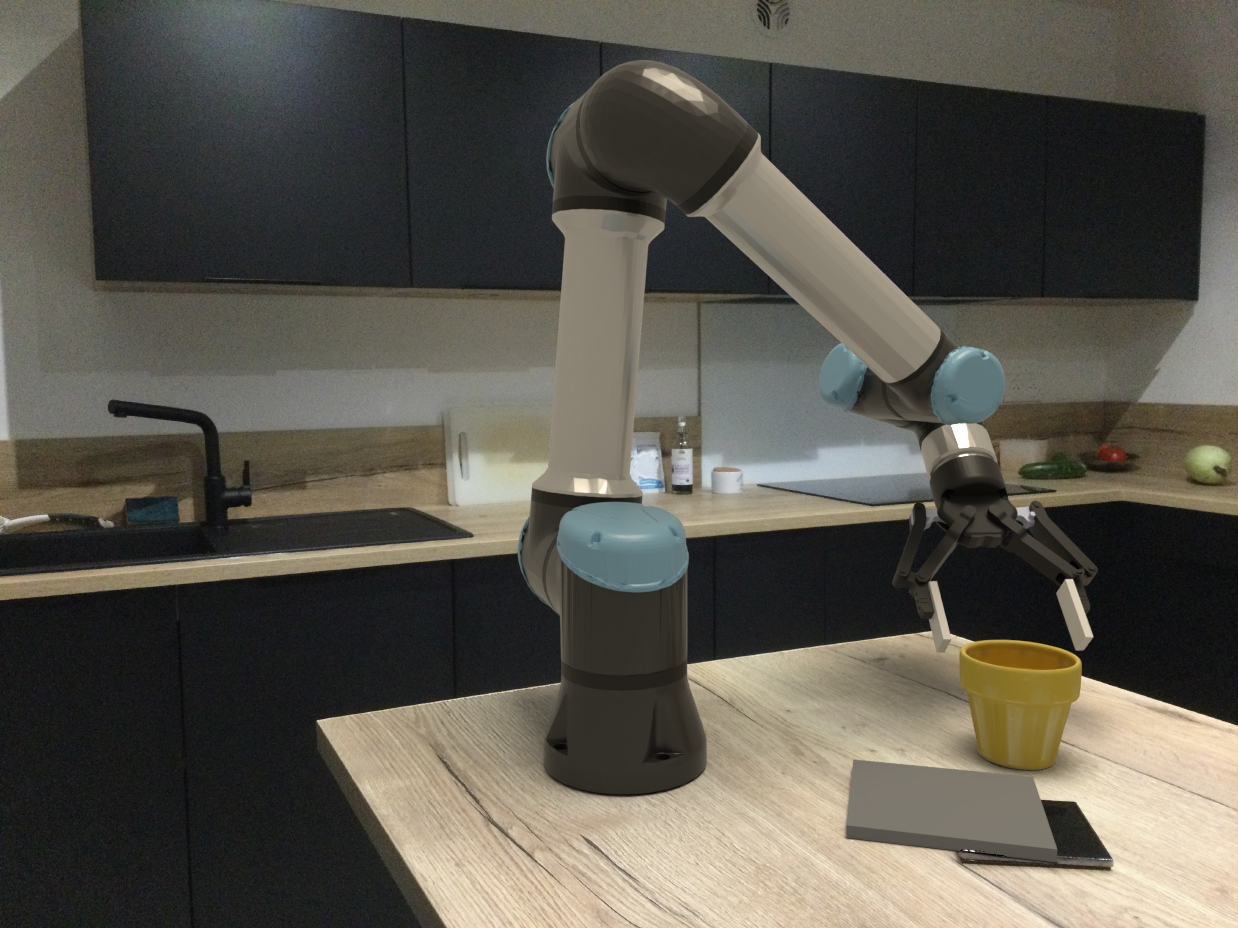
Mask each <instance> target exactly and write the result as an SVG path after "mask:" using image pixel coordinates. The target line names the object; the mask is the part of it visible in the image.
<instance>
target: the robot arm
mask: <svg viewBox="0 0 1238 928" xmlns="http://www.w3.org/2000/svg"><path fill="white" fill-rule="evenodd" d="M761 140H762V139H761V134H760V133H759V132H758V131H756V129H755V128H754V127H753V126H751V124H749V123H748V121H747V120H745V118H744V117H742V116H741V115H740V114H739V113H738V112H737V111H736V110H735V109H734V108H733V107H732V106H731V105H730V104H728V102H726V101H725V100H724V99H723V98H721V97H720V95H718V94H717V93H716V92H714V91H713V90H712V89H711V88H709V87H708V86H707V85H705V84H704V83H702V82H701V81H700V80H698V79H696V78H695V77H694V76H692V75H690V74H689V73H687V72H686V71H683V70H682V69H679V67H676V66H673V65H670V64H667V63H664V62H661V61H655V60H649V59H647V60H645V59H641V60H640V59H639V60H633V61H626V62H624V63H621V64H618V65H616V66H614V67H612V68H611V69H609V70H608V71H606V72H604V73H603V74H602V75H601V76H600V77H599V78H598V79H597V80H596V81H595V82H594V83H593V85H591V86H590V87H589V88H588V90H586V92H584V94H582V95H581V96H580V97H579V98H577V100H575V101H574V102H572V103H571V104H570V105H569V106H568V107H567V108H566V109H565V110H564V111H563V113H561V115H560V117H559V118H558V119H557V122H556V124H555V126H554V127H553V129H552V132H551V134H550V137H549V140H548V143H547V147H546V159H545V161H546V163H545V164H546V171H547V175H548V178H549V182H550V184H551V186H552V188H553V196H552V210H551V211H552V212H551V221H552V223H554V224H555V226H556V227H557V228H558V230H560V232H561V233H562V234H563V237H564V248H563V249H564V250H563V263H562V277H561V286H560V288H561V290H560V291H561V292H560V300H559V301H560V302H559V303H560V304H559V316H558V329H557V330H558V331H557V343H556V344H557V345H556V354H555V355H556V358H555V370H554V383H553V384H554V385H553V395H552V396H553V397H552V408H551V423H550V424H551V425H550V435H549V436H550V437H549V438H550V439H549V448H548V449H549V451H548V464H547V468H546V469H545V471H544V473H542V474H541V475H540V476H539V477H538V478H537V479H535V480H534V481H533V482H532V483H531V484H532V485H531V493H530V495H531V497H530V507H529V516H528V517H527V519H526V520H525V522H524V523H523V525H522V527H521V531H520V533H519V537H518V541H517V558H518V563H519V567H520V568H519V569H520V571H521V574H522V575H523V578H524V580H525V582H526V584H527V586H528V588H529V589H530V591H531V592H532V593H533V594H534V595H535V596H536V597H538V599H539V600H540V601H541V602H542V603H543V604H545V605H547V606H548V607H549V608H551V609H552V610H553V611H554V612H555V613H556V614H557V615H558V616H559V622H560V623H559V625H560V659H561V660H560V662H561V663H560V665H561V666H560V667H561V674H560V675H561V678H560V679H561V680H560V685H559V688H558V691H557V695H556V698H555V701H554V705H553V708H552V711H551V715H550V718H549V721H548V724H547V728H546V731H545V734H544V739H543V764H544V769H545V770H546V771H547V773H548V774H549V775H550V776H551V777H552V778H554V779H555V780H557V781H559V782H560V783H562V784H564V785H567V786H569V787H571V788H576V789H578V790H582V791H586V792H592V793H598V794H600V793H601V794H607V795H608V794H609V795H638V794H639V795H641V794H649V793H650V794H651V793H655V792H662V791H664V790H669V789H672V788H676V787H679V786H682V785H685V784H687V783H688V782H691V781H693V780H694V779H695V778H697V777H698V776H699V775H700V774H701V773H702V772H703V771H704V770H705V769H706V766H707V762H708V761H707V760H708V759H707V758H708V751H707V750H708V748H707V747H708V746H707V745H708V744H707V743H708V741H707V734H706V731H705V728H704V725H703V723H702V720H701V715H700V714H699V710H698V707H697V705H696V701H695V698H694V696H693V693H692V689H691V687H690V683H689V679H688V568H689V567H688V566H689V561H690V556H689V555H690V554H689V551H688V546H687V538H686V537H687V535H686V530H685V526H684V524H683V523H682V521H681V520H680V519H679V518H678V517H677V515H675V514H673V513H671V512H670V511H668V510H666V509H664V508H661V507H658V506H653V505H643V496H644V495H643V494H644V493H643V492H644V491H643V490H642V489H641V488H640V487H639V485H637V483H636V482H635V480H633V478H632V475H631V462H632V451H633V450H632V449H633V439H634V438H633V437H634V428H635V427H634V426H635V425H634V424H635V416H636V415H635V414H636V413H635V411H636V404H637V403H636V402H637V401H636V399H637V388H638V376H639V375H638V374H639V362H640V352H641V339H642V327H643V317H644V315H643V314H644V313H643V312H644V303H645V302H644V301H645V289H646V278H647V277H646V276H647V264H648V254H649V253H648V251H649V245H650V243H651V242H652V241H653V240H654V239H655V238H656V237H657V236H658V235H660V233H662V232H663V231H664V230H665V227H666V226H665V223H666V214H667V213H666V212H667V201H669V202H671V204H673V205H675V206H676V207H677V208H678V209H679V210H680V211H681V212H682V213H684V215H686V217H689V218H692V217H693V218H697V217H703V218H705V219H706V220H707V221H708V222H710V223H711V224H712V225H713V226H714V227H715V228H716V229H717V230H718V231H719V232H721V234H722V235H724V236H725V237H726V238H727V239H728V240H729V241H731V243H732V244H734V245H735V247H736V248H738V249H739V250H740V251H741V252H742V254H743V253H744V255H745V256H747V257H748V258H749V260H751V261H752V262H753V263H754V264H755V265H756V266H758V268H759V269H761V270H762V271H763V272H764V273H765V274H767V276H769V277H770V278H771V279H772V280H773V281H774V282H775V283H776V285H778V286H779V287H780V288H781V289H782V290H784V291H785V293H787V294H788V295H789V296H790V297H791V298H792V299H793V300H794V301H795V302H797V303H798V304H799V305H800V306H801V307H802V308H803V309H804V310H806V312H807V313H809V314H810V316H811V317H813V318H814V319H815V320H816V321H817V322H819V323H820V325H822V326H823V327H824V328H825V329H826V330H827V331H828V332H829V333H830V334H832V336H833V337H835V338H836V339H837V340H838V341H839V342H840V343H838V344H837V345H836V346H834V347H833V348H832V350H830V352H829V353H828V355H827V356H826V358H825V359H824V361H823V363H822V365H821V366H822V367H821V370H820V372H819V373H820V374H819V377H818V389H819V390H818V391H819V394H820V397H821V400H823V401H824V402H825V403H826V404H828V405H830V406H833V407H835V408H838V409H841V410H842V411H843V412H844V413H848V412H849V413H852V414H855V415H859V416H863V417H865V418H869V419H873V420H876V421H879V422H883V423H885V424H889V425H893V426H895V427H896V428H900V429H904V430H908V431H909V432H913V433H914V434H915V435H916V440H917V442H918V446H919V449H920V452H921V456H922V460H923V464H924V469H925V471H926V475H927V478H928V480H929V487H930V490H931V494H932V499H933V502H934V505H935V506H934V507H935V508H928V507H927V508H926V505H925V504H924V503H923V502H918V501H917V502H915V503H914V504H913V507H912V510H911V511H910V512H911V513H910V515H909V518H908V523H909V535H908V537H907V540H906V543H905V546H904V548H903V551H902V553H901V557H900V559H899V562H898V565H897V568H896V571H895V574H894V576H893V579H892V581H891V584H892V586H893V587H894V588H895V589H898V590H899V589H902V588H904V589H907V590H909V591H908V593H909V595H910V596H911V597H912V598H914V601H915V606H916V609H917V614H918V616H919V618H920V619H921V620H928V621H929V626H930V629H931V634H932V639H933V643H934V646H935V651H936V653H939V654H940V653H945V652H946V651H947V648H948V646H949V645H950V643H951V641H952V636H951V631H950V629H949V628H950V627H949V625H948V620H947V616H946V613H945V608H944V604H943V601H942V597H941V591H940V587H939V585H938V580H936V581H935V580H933V581H932V579H933V578H934V576H935V574H937V572H938V571H939V570H940V569H941V567H942V565H943V564H944V563H945V562H946V560H947V559H948V557H949V556H950V554H952V553H953V552H954V550H955V549H956V547H957V546H958V545H959V544H960V545H962V546H965V547H966V548H967V549H976V548H979V547H983V548H987V549H988V548H989V549H990V548H991V549H993V548H995V549H996V548H997V547H998V546H999V547H1000V548H1002V549H1003V550H1005V552H1007V553H1010V554H1011V553H1013V554H1015V555H1016V556H1018V557H1019V558H1021V559H1022V561H1024V562H1026V563H1027V564H1028V565H1030V566H1031V567H1033V568H1034V569H1035V570H1037V571H1038V572H1039V573H1041V574H1042V575H1043V576H1045V577H1046V578H1048V579H1049V580H1050V581H1052V583H1054V584H1056V585H1057V586H1058V587H1059V588H1058V590H1057V592H1056V597H1057V600H1058V602H1059V606H1060V609H1061V611H1062V614H1063V618H1064V620H1065V623H1066V627H1067V629H1068V632H1069V635H1070V638H1071V641H1072V643H1073V647H1074V650H1075V651H1084V650H1085V649H1086V648H1087V647H1088V645H1089V643H1091V642H1092V640H1093V638H1094V635H1093V631H1092V628H1091V625H1090V623H1089V620H1088V617H1087V614H1088V613H1089V611H1091V603H1090V601H1089V598H1088V595H1087V592H1086V589H1085V587H1086V586H1088V585H1089V584H1090V583H1091V582H1092V580H1093V579H1094V577H1095V576H1096V575H1097V573H1098V570H1099V569H1098V567H1097V565H1096V564H1095V563H1094V562H1093V561H1092V560H1091V559H1090V558H1089V557H1088V556H1087V555H1086V554H1085V552H1083V551H1082V550H1081V549H1080V548H1079V547H1078V546H1077V544H1076V543H1074V542H1073V541H1072V540H1071V539H1070V538H1069V537H1068V536H1067V535H1066V534H1065V532H1063V530H1061V529H1060V527H1058V526H1057V524H1056V523H1055V522H1054V521H1052V519H1051V518H1050V517H1049V515H1048V514H1047V511H1046V509H1045V508H1044V506H1043V504H1042V503H1041V502H1040V501H1038V500H1033V501H1031V502H1030V504H1029V506H1022V507H1020V506H1019V507H1016V506H1014V505H1013V503H1012V502H1011V501H1010V499H1009V496H1008V490H1007V487H1006V482H1005V481H1004V477H1003V474H1002V470H1001V467H1000V465H999V464H998V459H997V458H998V457H997V456H996V455H997V454H996V453H995V450H994V446H993V444H992V441H991V438H990V435H989V432H988V429H987V427H986V425H985V423H984V422H985V420H987V419H989V418H990V417H991V416H992V415H993V414H994V413H996V411H997V410H998V409H999V406H1000V405H1001V403H1002V401H1003V398H1004V396H1005V392H1006V375H1005V372H1004V369H1003V367H1002V365H1001V362H1000V361H999V359H998V358H997V357H996V356H995V355H994V354H993V353H991V352H990V351H988V350H986V349H983V348H979V347H976V348H975V347H974V346H969V345H962V346H960V345H958V344H957V343H956V342H955V341H954V340H953V339H952V338H951V337H950V336H949V335H947V334H946V333H945V332H944V331H943V330H942V329H941V328H940V327H939V326H938V325H937V324H936V323H935V322H934V321H933V320H932V319H931V318H930V317H929V316H928V315H927V314H926V313H925V312H924V311H923V310H922V309H921V307H919V306H918V305H917V304H916V303H915V302H913V300H911V298H909V297H908V296H907V295H906V294H905V293H904V292H903V290H902V289H900V288H899V287H898V285H896V284H895V283H894V282H893V281H892V280H891V279H890V278H889V277H888V276H887V275H886V273H884V272H883V271H882V270H881V269H880V268H879V267H878V266H877V265H876V264H875V263H874V262H873V261H872V260H871V259H870V258H869V257H868V256H867V255H865V253H864V252H863V251H862V250H860V248H859V247H858V246H856V244H854V242H852V241H851V240H850V239H849V238H848V237H847V236H846V234H845V233H843V231H841V230H840V229H839V228H838V227H837V226H836V225H835V224H834V223H833V222H832V221H831V220H830V219H829V218H828V217H827V216H826V215H825V214H824V213H823V212H822V211H821V210H820V209H819V208H818V207H817V206H816V205H815V204H814V203H812V201H811V200H810V199H809V198H808V197H807V196H806V195H805V194H804V193H803V192H802V191H801V190H800V189H798V188H797V187H796V185H795V184H794V183H792V182H791V180H790V179H788V178H787V177H786V175H784V173H782V172H781V171H780V169H778V168H777V167H776V166H775V165H774V164H773V163H772V162H771V160H769V158H767V157H766V156H765V155H764V154H763V153H762V148H761V147H762V146H761V145H762V144H761V143H762V141H761ZM1018 521H1019V522H1020V523H1022V524H1023V525H1022V524H1020V523H1019V522H1018ZM934 522H935V523H936V524H937V525H938V526H939V527H940V528H941V529H942V530H943V531H945V532H946V533H945V535H944V536H943V537H942V539H941V540H940V541H939V542H938V544H937V546H936V547H935V548H934V549H933V551H932V552H931V553H930V555H929V556H928V558H927V559H926V560H925V562H924V563H923V564H922V566H921V567H920V568H919V570H918V571H917V572H914V571H911V569H912V565H913V564H914V563H913V562H914V560H915V557H916V554H917V552H918V549H919V546H920V542H921V540H922V538H923V534H924V532H925V531H926V529H929V528H930V527H931V526H932V523H934ZM1027 530H1029V531H1030V533H1031V534H1032V535H1031V534H1029V533H1028V531H1027ZM1009 533H1011V535H1012V536H1011V537H1008V535H1009ZM1033 536H1034V537H1033Z"/></svg>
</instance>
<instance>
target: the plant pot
mask: <svg viewBox="0 0 1238 928" xmlns="http://www.w3.org/2000/svg"><path fill="white" fill-rule="evenodd" d="M958 656H959V660H958V661H959V662H958V666H959V667H958V670H959V673H958V674H959V675H958V677H959V685H960V686H961V688H962V689H963V690H965V691H966V695H967V700H968V705H969V709H970V714H971V719H972V726H973V730H974V737H975V741H976V746H977V750H978V753H979V754H980V756H981V757H983V758H984V760H986V761H989V762H991V763H993V764H994V765H995V764H996V765H998V766H1000V767H1004V768H1008V769H1015V770H1022V771H1023V770H1024V771H1036V770H1038V771H1039V770H1044V769H1047V768H1051V766H1053V765H1054V764H1055V763H1056V760H1057V756H1058V753H1059V749H1060V746H1061V742H1062V738H1063V734H1064V732H1065V731H1064V730H1065V728H1066V723H1067V719H1068V716H1069V712H1070V709H1071V707H1072V704H1073V703H1074V702H1076V701H1078V699H1080V695H1081V686H1082V672H1083V668H1082V667H1083V666H1082V660H1081V658H1080V657H1078V656H1077V655H1076V654H1074V653H1073V652H1071V651H1068V650H1065V649H1063V648H1060V647H1056V646H1052V645H1048V644H1043V643H1039V642H1032V641H1023V640H1012V639H986V640H978V641H977V640H976V641H973V642H969V643H966V644H963V646H961V648H960V649H959V655H958Z"/></svg>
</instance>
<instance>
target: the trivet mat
mask: <svg viewBox="0 0 1238 928" xmlns="http://www.w3.org/2000/svg"><path fill="white" fill-rule="evenodd" d="M1034 779H1035V778H1034V776H1031V775H1030V776H1029V775H1019V774H1011V773H1010V774H1008V773H1000V772H998V773H997V772H990V771H989V772H988V771H979V770H978V771H976V770H970V769H969V770H967V769H958V768H957V769H955V768H947V767H946V768H945V767H938V766H937V767H936V766H927V765H926V766H925V765H916V764H908V763H907V764H905V763H903V764H902V763H895V762H884V761H876V760H875V761H874V760H873V761H872V760H866V759H865V760H863V759H855V758H854V759H852V769H851V779H850V786H849V796H848V797H849V799H848V807H847V814H846V815H847V816H846V817H847V818H846V825H845V826H846V827H845V828H846V829H845V835H846V836H845V837H846V839H853V840H863V841H871V842H881V843H887V844H888V843H889V844H894V845H895V844H897V845H905V846H914V847H923V848H929V849H930V848H931V849H936V850H937V849H940V850H947V851H957V852H961V851H960V850H961V849H969V850H977V851H979V850H981V851H985V852H990V853H994V852H997V853H998V854H999V855H1004V856H1003V857H1005V856H1006V858H1007V857H1008V858H1014V859H1016V858H1017V859H1023V860H1024V859H1025V860H1031V861H1032V860H1033V861H1041V862H1042V861H1043V862H1048V863H1058V848H1057V844H1056V842H1055V841H1056V840H1055V839H1054V835H1053V831H1052V829H1051V827H1050V824H1049V823H1050V822H1049V821H1048V817H1047V814H1046V811H1045V808H1044V806H1043V802H1042V800H1041V797H1040V794H1039V791H1038V788H1037V785H1036V782H1035V780H1034Z"/></svg>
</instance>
